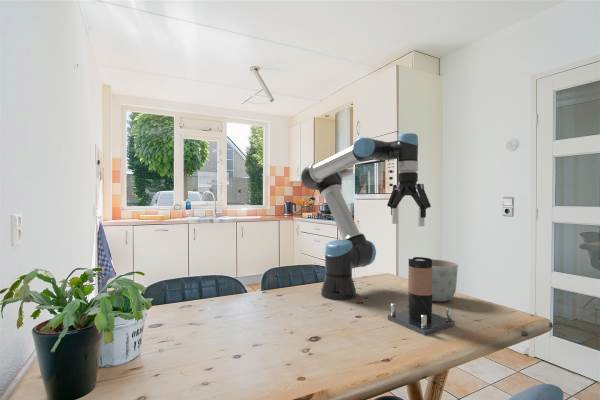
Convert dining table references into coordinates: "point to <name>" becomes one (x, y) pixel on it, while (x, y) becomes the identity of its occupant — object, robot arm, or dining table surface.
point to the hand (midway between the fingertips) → (407, 225)
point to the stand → (422, 321)
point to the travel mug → (420, 288)
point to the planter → (443, 280)
